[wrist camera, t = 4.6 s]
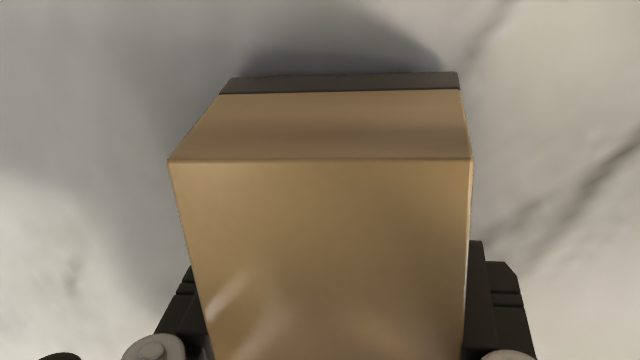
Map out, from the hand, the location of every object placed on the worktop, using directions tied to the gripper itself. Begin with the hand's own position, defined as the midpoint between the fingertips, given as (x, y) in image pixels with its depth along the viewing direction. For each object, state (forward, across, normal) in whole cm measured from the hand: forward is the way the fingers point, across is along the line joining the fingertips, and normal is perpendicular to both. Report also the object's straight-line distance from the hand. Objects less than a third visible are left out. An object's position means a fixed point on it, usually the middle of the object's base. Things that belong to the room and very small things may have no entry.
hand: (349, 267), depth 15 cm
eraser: (0, 0, 0) cm, 0 cm away
